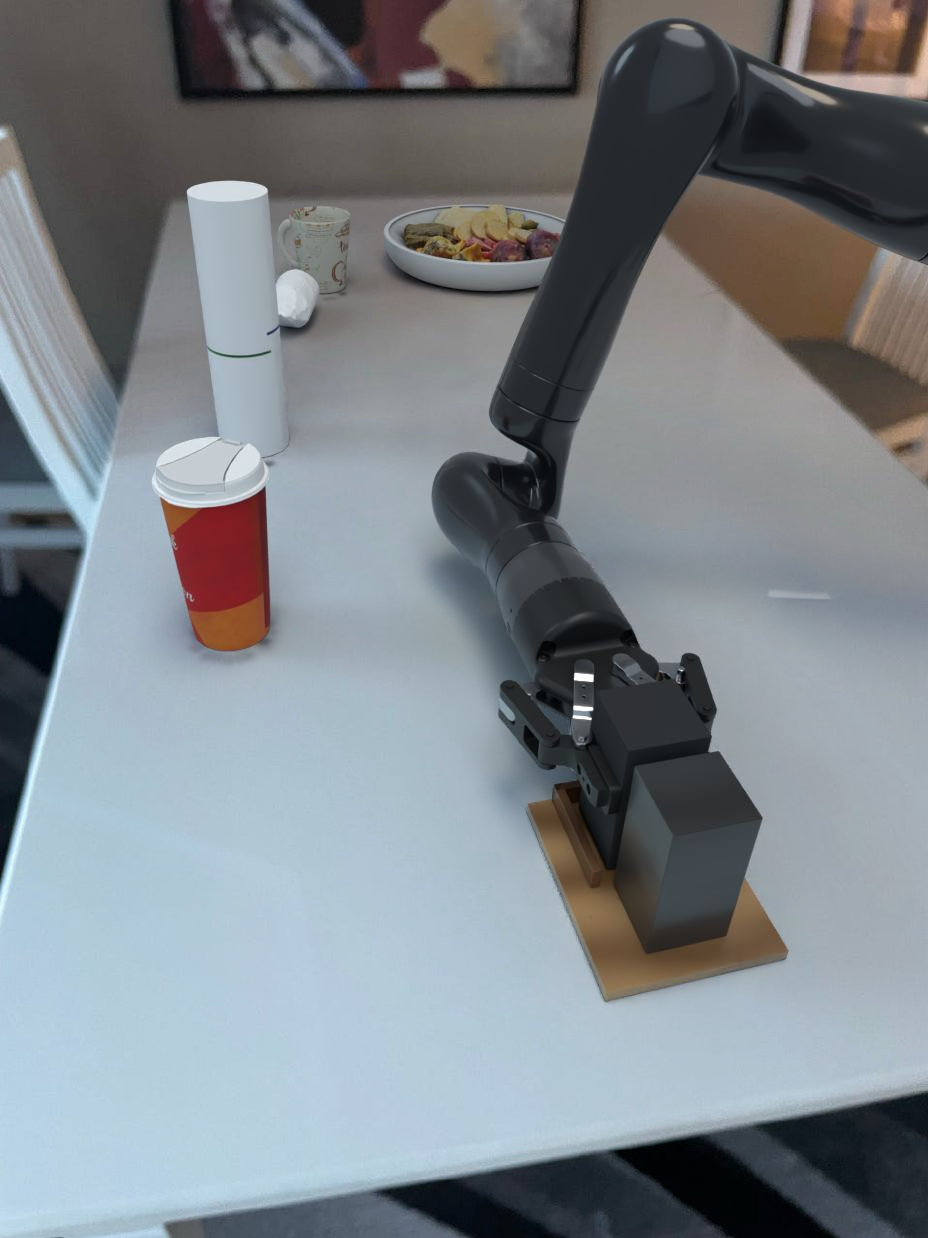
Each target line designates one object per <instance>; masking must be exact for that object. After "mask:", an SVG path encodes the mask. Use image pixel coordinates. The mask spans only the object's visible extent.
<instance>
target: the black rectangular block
mask: <svg viewBox="0 0 928 1238" xmlns="http://www.w3.org/2000/svg"><path fill="white" fill-rule="evenodd" d="M590 727H591V729H592V731H593V741H592V744H593V745H598V744H599V746H600V748H601V750H602V752H603V754H604V755H605V757H606V759H607V761H608V763H609V765H610V767H611V769H612V771H613V773H614V775H615V777H616V779H617V780H618V782H619V784H620V787H621V789H622V799H621V804H620V809H619V813H615V814H610V815H605V814H604V812H603V810H602V808H601V807H597V808H595V807H594V806H593V805H592V804H591V803H590V802H589V800H588V798H587V796H586V794H585V792H584V789H583V788H582V787H581V794H580V801H579V810H580V813H581V815H582V817H583V819H584V821H585V823H586V825H587V828H588V830H589V832H590V834H591V836H592V838H593V841H594V843H595V845H596V847H597V849H598V851H599V853H600V856H601V858H602V860H603V862H604V864H605V866H606V869H610V868H615V867H616V866H617V860H618V855H619V849H620V844H621V839H622V833H623V828H624V822H625V817H626V812H627V806H628V801H629V795H630V790H631V785H632V779H633V774H634V768H635V766H637V765H643V764H648V763H654V762H659V761H665V760H671V759H676V758H682V757H687V756H693V755H698V754H704V753H708V752H710V751H709V749H710V746H711V742H712V739H713V735H712V733H711V734H710V732H709V731H708V729H707V728H706V726H705V725H704V723H703V722H702V720H701V719H700V717H699V716H698V714H697V712H696V711H695V709H694V708H693V706H692V705H691V703H690V702H689V700H688V699H687V697H686V696H685V694H684V692H683V691H682V689H681V688H680V686H679V685H678V683H677V682H676V680H675V679H670V680H663V681H657V682H651V683H644V684H638V685H632V686H626V687H619V688H613V689H607V690H600V691H596V692H595V699H594V705H593V712H592V719H591V726H590Z"/></svg>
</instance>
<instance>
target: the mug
mask: <svg viewBox="0 0 928 1238" xmlns="http://www.w3.org/2000/svg"><path fill="white" fill-rule="evenodd" d="M288 216H289V217H288V218H287V219H284V220H283V221H281V223H280V224H279V227H278V229H277V233H276V241H277V247H278V250H279V252H280V254H281V256H282V257H283V258H284V259H285V260H286V262H287V263H288V264H289V265H290V266H292V267H294V268H295V269H298V270H301V271H303V272H306V273H307V274H309V275H310V276H311V277H313V278H314V279H315V281H316V282H317V284H318V286H319V294H321V295H323V294H334V293H339V292H341V291H342V290H344V289H345V287H346V281H347V280H346V279H347V270H348V269H347V267H348V255H349V254H348V253H349V242H350V231H351V229H350V228H351V213H350V212H349V211H348V210H346V209H344V208H340V207H336V206H325V205H323V206H322V205H315V206H306V207H300V208H296V209H294V210H292V211H290V213H289V215H288ZM290 229H291V235H292V239H293V244H294V250H295V254H296V259H297V260H295V259H294V258H293V257H292V256H291V254H290V253H289V250H288V249H287V247H286V241H285V240H286V239H285V238H286V234H287V232H288V231H289V230H290Z"/></svg>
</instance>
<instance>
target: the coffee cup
mask: <svg viewBox="0 0 928 1238" xmlns="http://www.w3.org/2000/svg"><path fill="white" fill-rule="evenodd" d="M241 444H242V442H239V441H234V440H230V439H226V440H225V441H223V440H222V438H221V437H219V436H205V437H198V438H193V439H190V440H185V441H182V442H180V443H179V442H178V443H176V444H174V445H172V446H171V447H169V448H167V449H166V450H165V451H163V452H162V453H161V454H160V456H159V457H158V459H157V461H156V463H155V470H154V473H153V475H152V477H151V487H152V489H153V491H154V493H155V494H156V495H157V496H158V497H159V500H160V503H161V507H162V512H163V515H164V520H165V523H166V529H167V532H168V536H169V540H170V545H171V550H172V552H173V557H174V560H175V565H176V568H177V572H178V576H179V577H178V578H179V581H180V584H181V589H182V592H183V593H182V594H183V596H184V600H185V604H186V609H187V613H188V616H189V619H190V624H191V627H192V631H193V633H194V636H195V638H196V640H197V641H198V642H199V643H200V644H201V645H202V646H204V647H206V648H208V649H211V650H215V651H221V652H231V651H239V650H243V649H247V648H250V647H252V646H254V645H256V644H258V643H259V642H260V641H262V640H263V639H264V638H265V637H266V636H267V634H268V633H269V631H270V627H271V591H270V590H271V588H270V587H271V586H270V563H269V562H270V561H269V537H268V536H269V535H268V511H267V510H268V509H267V487H266V486H267V484H268V483H269V480H270V477H271V476H270V475H271V474H270V473H271V472H270V469H269V466H268V465H267V464H266V463H265V461H264V460H263V457H261V455H260V453H259V452H258V450H257V449H256V448H255V447H254V446H252V445H251V444H249V443H248V444H247V445H241Z"/></svg>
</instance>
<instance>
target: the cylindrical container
mask: <svg viewBox="0 0 928 1238" xmlns="http://www.w3.org/2000/svg"><path fill="white" fill-rule="evenodd" d="M186 196H187V197H186V198H187V203H188V211H189V213H188V214H189V219H190V228H191V236H192V242H193V243H192V244H193V249H194V250H193V251H194V258H195V259H194V260H195V266H196V272H197V273H196V274H197V280H198V289H199V296H200V297H199V298H200V304H201V311H202V319H203V327H204V335H205V340H206V341H205V342H206V349H207V357H208V364H209V371H210V379H211V388H212V394H213V402H214V408H215V409H214V410H215V416H216V417H215V418H216V424H217V430H218V437H221V438H222V440H223V441H225V440H226V439H230V440H234V441H239V442H242V444H241V445H247V444H248V443H249V444H251V445H252V446H254V447H255V448H256V449H257V450H258V452H259V453H260V455H261V457H262V458H267V457H271V456H274V455H276V454H279V453H281V452H282V451H285V449H286V448H287V447H288V446H289V444H290V434H289V422H288V421H289V420H288V411H287V400H286V399H287V398H286V388H285V387H286V386H285V377H284V363H283V353H282V341H281V340H282V339H281V328H280V325H279V316H278V304H277V293H276V282H277V280H276V273H275V272H276V271H275V270H276V269H275V261H274V260H275V259H274V247H273V236H272V223H271V213H270V202H269V201H270V200H269V189H268V188H267V187H266V186H265V185H263V184H259V183H256V182H251V181H243V180H217V181H208V182H203V183H199V184H196V185H192V186H191V187H189V188H188V189H187V190H186Z"/></svg>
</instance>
